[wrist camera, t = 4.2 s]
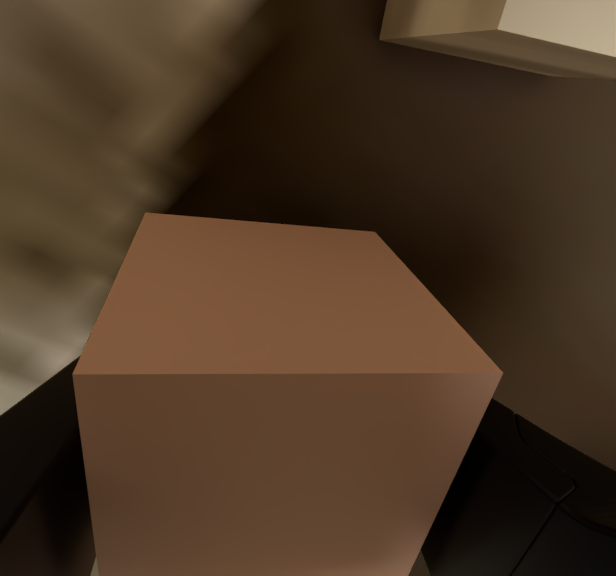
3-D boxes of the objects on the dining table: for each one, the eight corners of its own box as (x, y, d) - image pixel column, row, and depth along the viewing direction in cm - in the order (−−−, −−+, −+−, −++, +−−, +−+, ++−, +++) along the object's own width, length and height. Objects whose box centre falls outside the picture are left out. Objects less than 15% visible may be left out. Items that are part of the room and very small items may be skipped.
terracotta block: (335, 395, 12) (402, 587, 8) (149, 399, 11) (106, 628, 6) (375, 231, 10) (503, 372, 5) (145, 212, 8) (72, 374, 4)
